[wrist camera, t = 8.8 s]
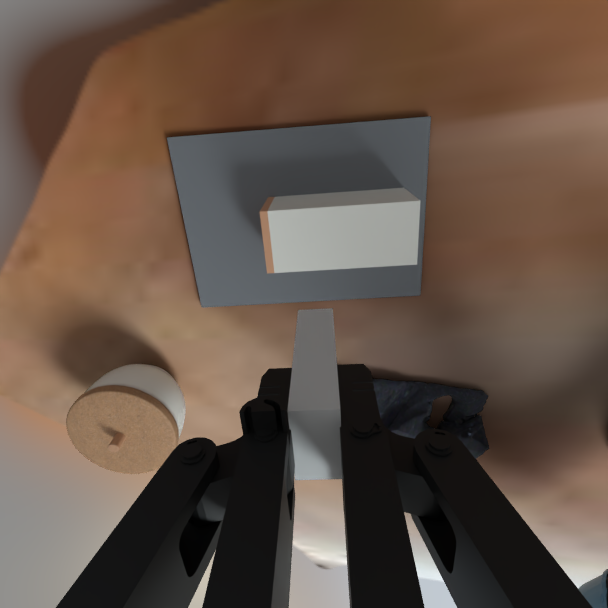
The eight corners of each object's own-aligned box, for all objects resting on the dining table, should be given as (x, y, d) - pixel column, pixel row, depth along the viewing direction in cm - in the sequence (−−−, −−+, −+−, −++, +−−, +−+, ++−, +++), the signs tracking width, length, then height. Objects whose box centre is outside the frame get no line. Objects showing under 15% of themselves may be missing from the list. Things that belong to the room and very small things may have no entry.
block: (274, 250, 37) (401, 242, 36) (267, 273, 32) (417, 264, 31) (268, 197, 35) (403, 187, 34) (259, 211, 30) (420, 200, 29)
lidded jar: (191, 347, 43) (161, 404, 34) (202, 423, 47) (177, 489, 39) (94, 346, 43) (40, 402, 35) (114, 421, 48) (71, 487, 39)
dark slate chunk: (311, 345, 43) (310, 371, 39) (497, 389, 45) (516, 418, 40) (279, 446, 49) (276, 477, 45) (443, 480, 51) (455, 514, 47)
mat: (418, 292, 39) (420, 295, 39) (203, 304, 40) (201, 307, 40) (428, 116, 32) (430, 116, 32) (169, 137, 34) (166, 137, 33)
